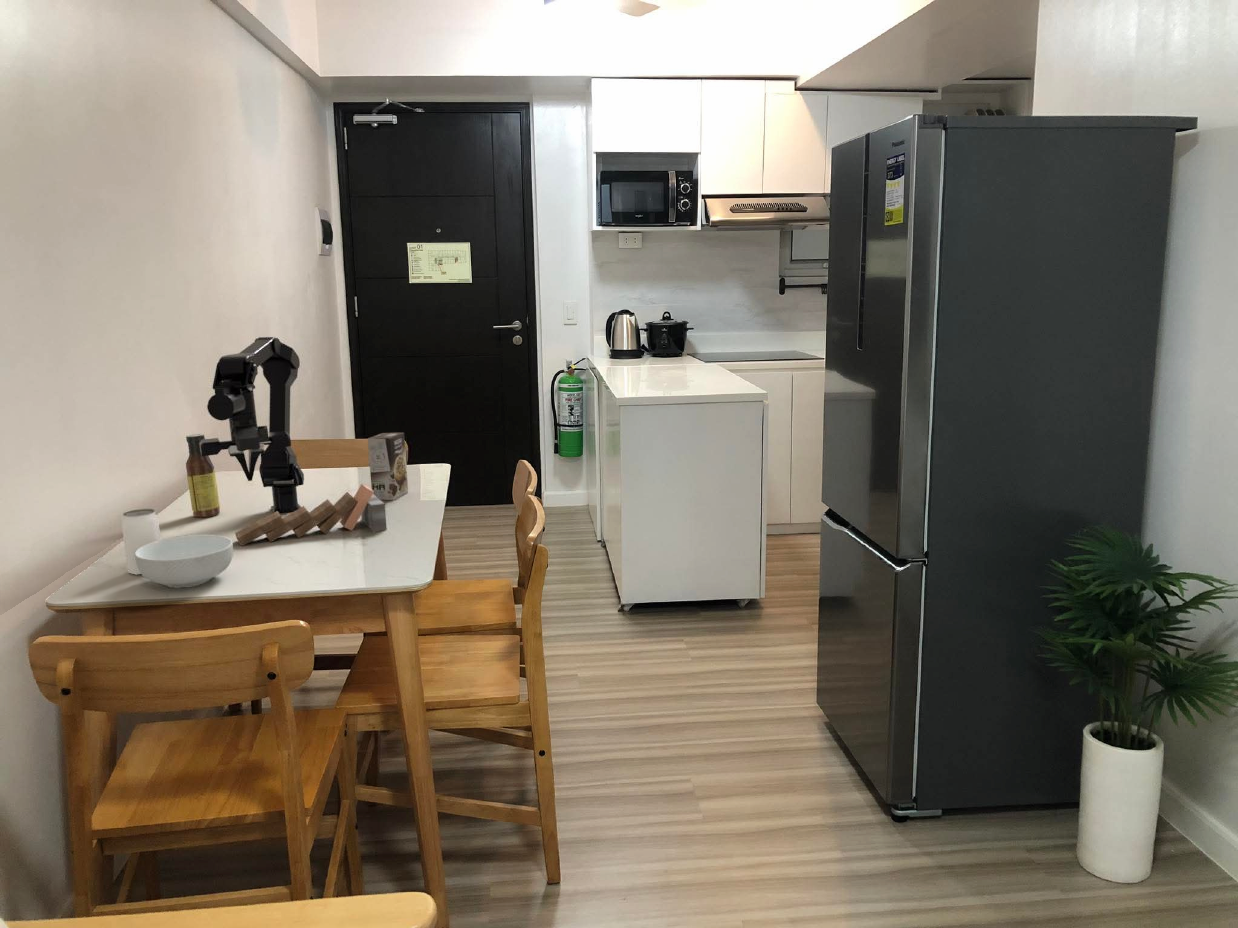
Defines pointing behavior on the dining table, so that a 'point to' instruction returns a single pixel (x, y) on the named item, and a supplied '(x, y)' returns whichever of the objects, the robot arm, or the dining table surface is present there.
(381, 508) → the end stop
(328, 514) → the domino
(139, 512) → the can
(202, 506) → the sauce bottle
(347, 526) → the end tile
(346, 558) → the dining table surface
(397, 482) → the coffee box
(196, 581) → the cereal bowl
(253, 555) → the dining table surface
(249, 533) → the domino
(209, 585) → the dining table surface
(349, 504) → the domino
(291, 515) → the domino
